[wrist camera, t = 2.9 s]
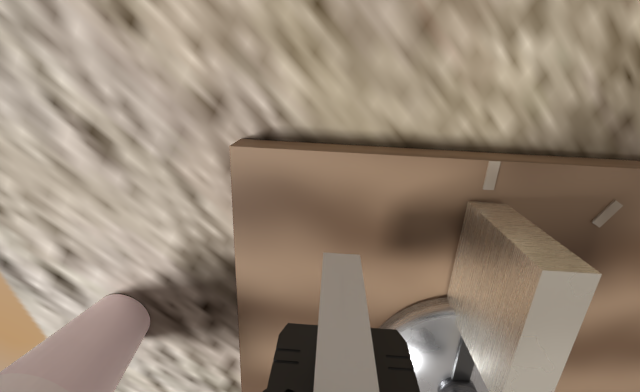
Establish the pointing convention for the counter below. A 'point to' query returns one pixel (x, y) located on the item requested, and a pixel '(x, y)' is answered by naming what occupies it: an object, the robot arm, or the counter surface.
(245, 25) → the counter surface
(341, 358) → the robot arm
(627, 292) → the panel
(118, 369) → the smoothie
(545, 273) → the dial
